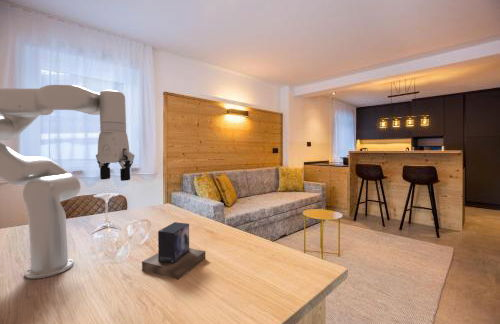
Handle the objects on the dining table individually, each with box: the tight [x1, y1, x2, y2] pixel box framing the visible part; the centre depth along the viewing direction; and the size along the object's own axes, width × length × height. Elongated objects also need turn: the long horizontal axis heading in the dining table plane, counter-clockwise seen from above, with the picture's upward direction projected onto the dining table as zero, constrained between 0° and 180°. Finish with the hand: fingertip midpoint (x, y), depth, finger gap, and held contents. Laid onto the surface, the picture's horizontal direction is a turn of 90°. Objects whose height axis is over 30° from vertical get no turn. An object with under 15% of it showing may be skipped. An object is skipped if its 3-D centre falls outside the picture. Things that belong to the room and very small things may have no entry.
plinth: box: [141, 247, 206, 280], centre depth 83 cm, size 15×15×3 cm
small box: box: [157, 221, 190, 263], centre depth 83 cm, size 11×6×10 cm, turn 167°
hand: (115, 179), depth 80 cm, fingers open, 9 cm apart
